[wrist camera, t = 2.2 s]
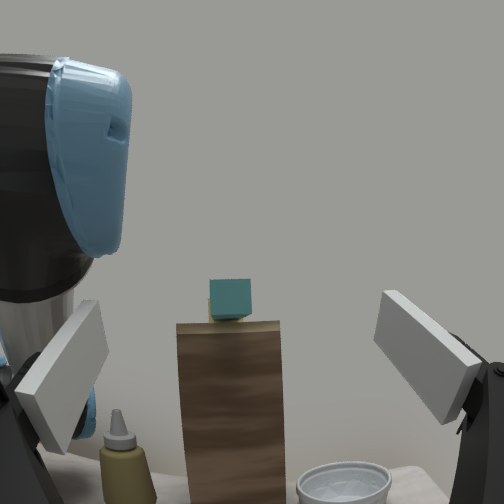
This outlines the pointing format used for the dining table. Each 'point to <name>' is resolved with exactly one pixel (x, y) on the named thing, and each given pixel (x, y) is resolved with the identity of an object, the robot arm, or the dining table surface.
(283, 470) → the post
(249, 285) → the peg
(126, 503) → the squeeze bottle
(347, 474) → the ramekin
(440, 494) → the dining table surface
